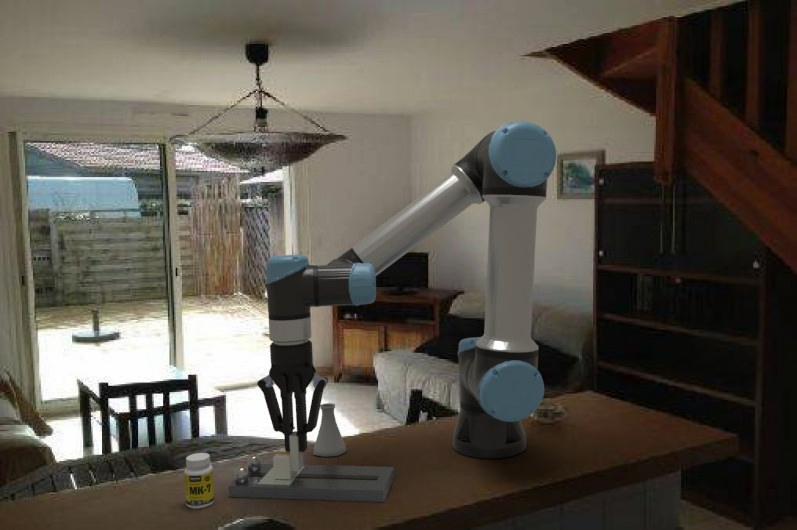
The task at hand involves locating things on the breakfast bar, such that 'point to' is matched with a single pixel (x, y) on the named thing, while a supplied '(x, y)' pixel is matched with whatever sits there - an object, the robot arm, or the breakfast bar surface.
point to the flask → (329, 434)
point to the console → (312, 482)
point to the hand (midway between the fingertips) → (297, 468)
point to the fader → (282, 465)
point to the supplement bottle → (199, 481)
